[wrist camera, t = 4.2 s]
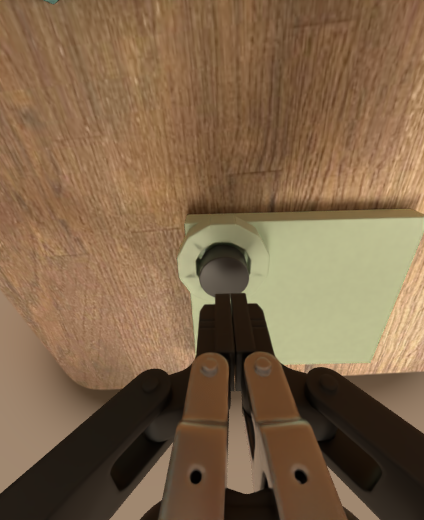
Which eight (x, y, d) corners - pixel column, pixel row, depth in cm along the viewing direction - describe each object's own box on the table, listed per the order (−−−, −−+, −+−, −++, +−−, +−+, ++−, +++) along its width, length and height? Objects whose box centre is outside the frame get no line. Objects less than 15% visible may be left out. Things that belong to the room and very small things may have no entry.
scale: (193, 350, 25) (190, 382, 22) (179, 208, 18) (173, 225, 15) (359, 347, 24) (381, 379, 21) (412, 201, 17) (455, 218, 14)
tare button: (201, 284, 17) (200, 300, 16) (199, 244, 16) (197, 257, 14) (245, 283, 17) (248, 299, 16) (246, 243, 16) (250, 256, 14)
